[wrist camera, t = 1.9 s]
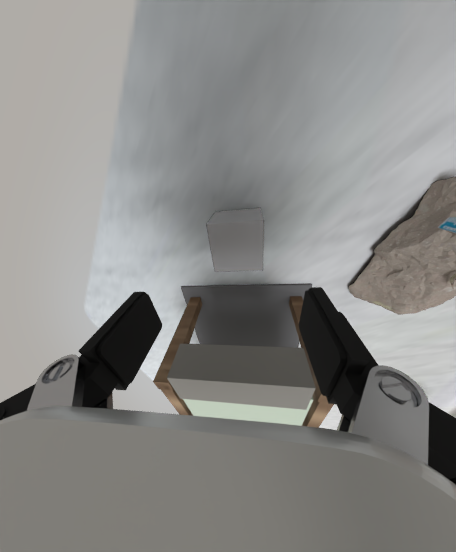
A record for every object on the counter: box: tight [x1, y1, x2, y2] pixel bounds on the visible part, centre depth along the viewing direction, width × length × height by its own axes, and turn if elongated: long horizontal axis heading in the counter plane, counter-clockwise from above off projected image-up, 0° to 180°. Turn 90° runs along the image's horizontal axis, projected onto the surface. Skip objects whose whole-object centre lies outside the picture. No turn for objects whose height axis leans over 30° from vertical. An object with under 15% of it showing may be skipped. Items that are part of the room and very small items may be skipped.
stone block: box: [206, 208, 264, 272], centre depth 17 cm, size 5×5×5 cm
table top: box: [181, 284, 312, 348], centre depth 29 cm, size 20×19×1 cm
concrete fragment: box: [349, 177, 456, 314], centre depth 16 cm, size 7×14×6 cm, turn 166°
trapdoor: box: [167, 344, 316, 426], centre depth 18 cm, size 17×13×3 cm
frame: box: [153, 296, 334, 428], centre depth 24 cm, size 16×17×13 cm
